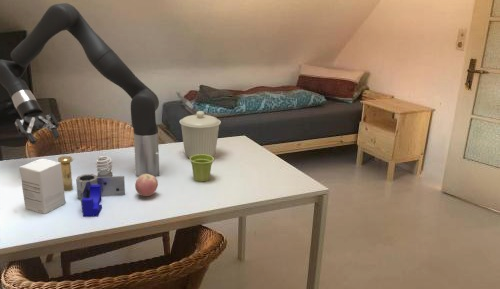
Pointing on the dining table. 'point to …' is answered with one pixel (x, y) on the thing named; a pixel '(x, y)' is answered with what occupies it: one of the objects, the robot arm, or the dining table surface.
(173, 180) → the dining table surface
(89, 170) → the dining table surface
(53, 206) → the supplement box
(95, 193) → the cable clip
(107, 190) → the hinge leaf upper
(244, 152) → the dining table surface
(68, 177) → the hinge pin
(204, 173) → the plant pot
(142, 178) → the apple
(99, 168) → the light bulb
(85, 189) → the hinge leaf lower
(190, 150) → the canister
